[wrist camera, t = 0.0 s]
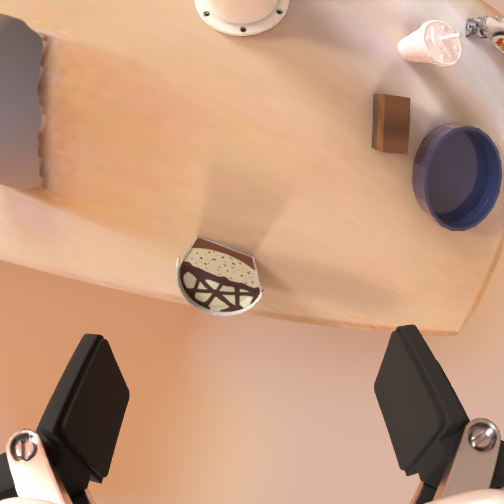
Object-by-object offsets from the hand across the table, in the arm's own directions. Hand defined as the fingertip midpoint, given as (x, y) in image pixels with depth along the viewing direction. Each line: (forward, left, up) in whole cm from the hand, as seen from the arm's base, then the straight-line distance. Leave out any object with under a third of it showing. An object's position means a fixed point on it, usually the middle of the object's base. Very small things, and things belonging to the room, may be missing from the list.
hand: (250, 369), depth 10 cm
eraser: (-6, +20, -37) cm, 42 cm away
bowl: (+1, +34, -37) cm, 50 cm away
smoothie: (-18, +24, -37) cm, 48 cm away
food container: (+16, -5, -37) cm, 41 cm away
